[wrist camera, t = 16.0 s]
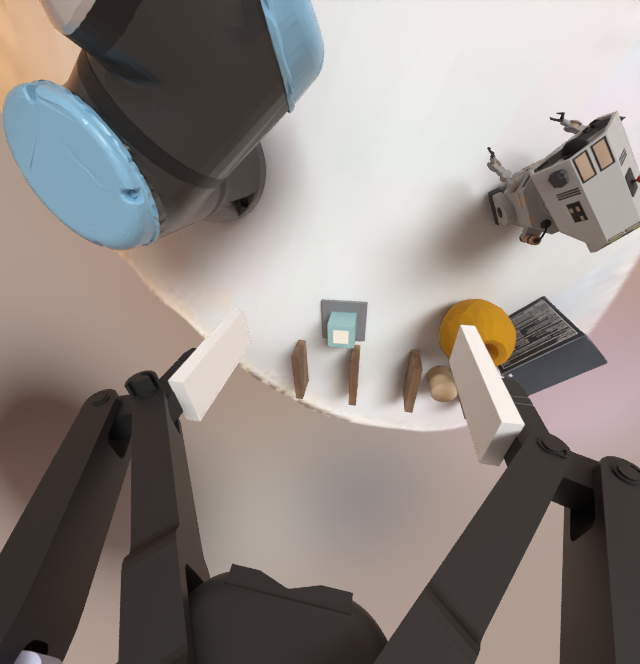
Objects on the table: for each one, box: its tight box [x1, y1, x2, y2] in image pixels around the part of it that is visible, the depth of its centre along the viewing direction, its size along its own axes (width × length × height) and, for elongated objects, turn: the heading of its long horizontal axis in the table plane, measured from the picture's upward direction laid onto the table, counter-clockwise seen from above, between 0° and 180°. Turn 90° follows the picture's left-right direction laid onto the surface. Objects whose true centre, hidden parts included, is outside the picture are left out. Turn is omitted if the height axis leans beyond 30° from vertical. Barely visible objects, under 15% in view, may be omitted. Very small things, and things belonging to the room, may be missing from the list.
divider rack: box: [291, 340, 466, 419], centre depth 53 cm, size 34×11×6 cm, turn 91°
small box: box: [498, 296, 607, 396], centre depth 41 cm, size 11×6×10 cm, turn 138°
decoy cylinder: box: [427, 366, 457, 402], centre depth 51 cm, size 4×4×5 cm
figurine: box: [487, 111, 640, 253], centre depth 27 cm, size 9×12×15 cm
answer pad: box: [322, 300, 367, 341], centre depth 50 cm, size 8×8×1 cm
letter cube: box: [327, 312, 357, 349], centre depth 48 cm, size 4×4×5 cm
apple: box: [439, 299, 516, 367], centre depth 40 cm, size 10×10×12 cm
